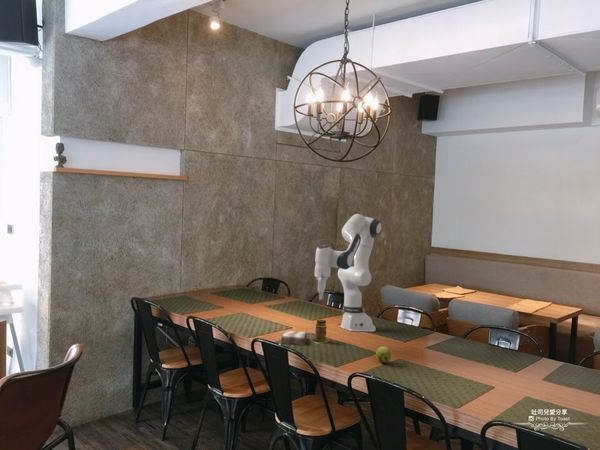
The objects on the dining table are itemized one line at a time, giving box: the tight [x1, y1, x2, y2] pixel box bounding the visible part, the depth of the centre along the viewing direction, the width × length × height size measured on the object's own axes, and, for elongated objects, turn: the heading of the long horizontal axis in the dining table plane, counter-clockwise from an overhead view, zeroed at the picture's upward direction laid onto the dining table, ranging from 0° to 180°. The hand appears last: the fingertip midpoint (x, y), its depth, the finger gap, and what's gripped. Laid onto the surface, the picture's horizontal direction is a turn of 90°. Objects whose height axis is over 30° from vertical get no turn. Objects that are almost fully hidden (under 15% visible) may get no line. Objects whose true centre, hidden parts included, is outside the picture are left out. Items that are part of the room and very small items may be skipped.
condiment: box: [309, 319, 329, 345], centre depth 285 cm, size 7×8×12 cm
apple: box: [375, 345, 392, 364], centre depth 253 cm, size 8×9×8 cm
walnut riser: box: [280, 330, 308, 346], centre depth 284 cm, size 13×13×4 cm
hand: (321, 297), depth 284 cm, fingers open, 8 cm apart
